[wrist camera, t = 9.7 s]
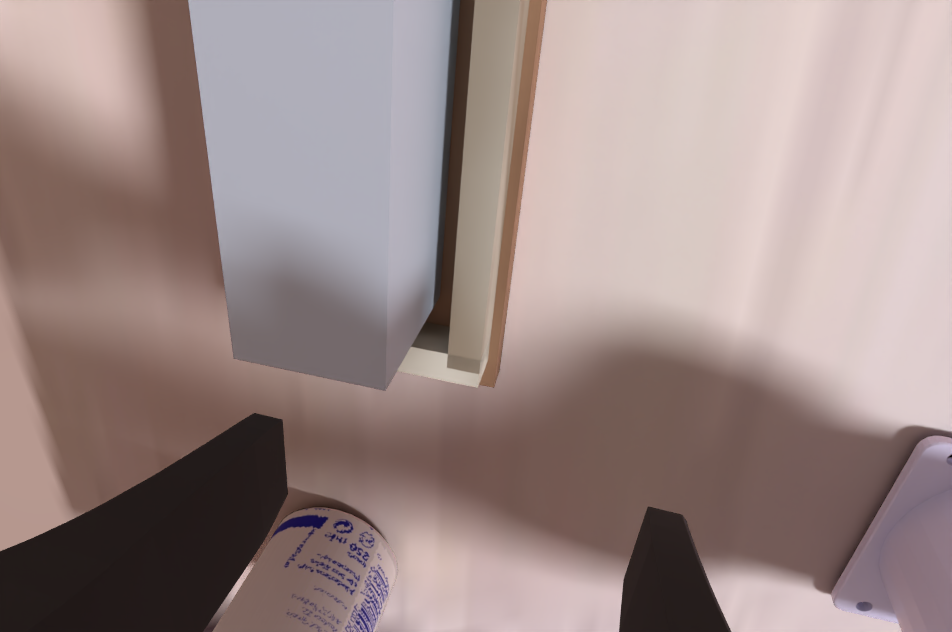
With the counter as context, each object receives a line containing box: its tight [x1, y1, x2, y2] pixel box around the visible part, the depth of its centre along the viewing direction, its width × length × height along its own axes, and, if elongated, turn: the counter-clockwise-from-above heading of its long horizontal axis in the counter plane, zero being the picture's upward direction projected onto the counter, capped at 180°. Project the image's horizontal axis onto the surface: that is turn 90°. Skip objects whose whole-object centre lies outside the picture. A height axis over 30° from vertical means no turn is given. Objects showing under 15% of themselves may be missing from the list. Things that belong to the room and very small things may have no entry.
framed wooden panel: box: [397, 0, 547, 388], centre depth 17 cm, size 8×18×2 cm, turn 175°
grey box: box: [188, 0, 460, 391], centre depth 15 cm, size 4×12×5 cm, turn 175°
